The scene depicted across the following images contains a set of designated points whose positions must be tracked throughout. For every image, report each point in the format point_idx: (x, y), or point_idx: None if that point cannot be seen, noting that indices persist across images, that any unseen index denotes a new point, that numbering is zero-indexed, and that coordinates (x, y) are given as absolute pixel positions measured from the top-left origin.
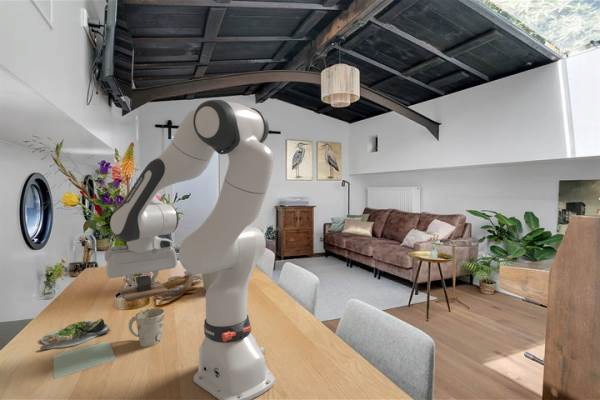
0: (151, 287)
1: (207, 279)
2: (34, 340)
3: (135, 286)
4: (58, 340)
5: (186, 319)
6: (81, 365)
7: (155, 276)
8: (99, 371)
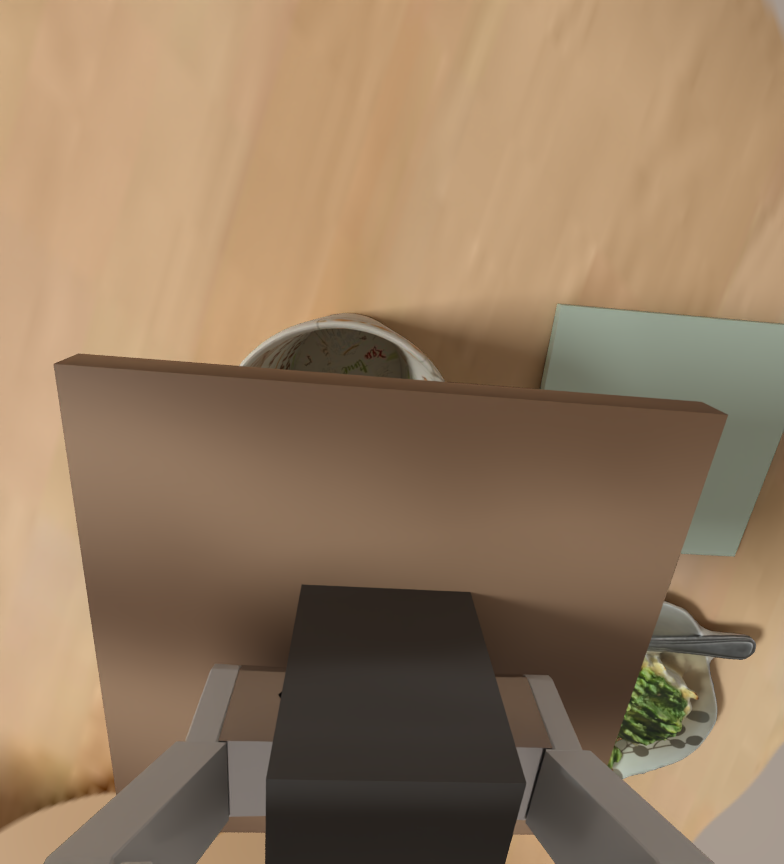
0: None
1: None
2: (708, 751)
3: (524, 695)
4: (679, 673)
5: (71, 537)
6: (699, 369)
7: (147, 806)
8: (654, 257)
